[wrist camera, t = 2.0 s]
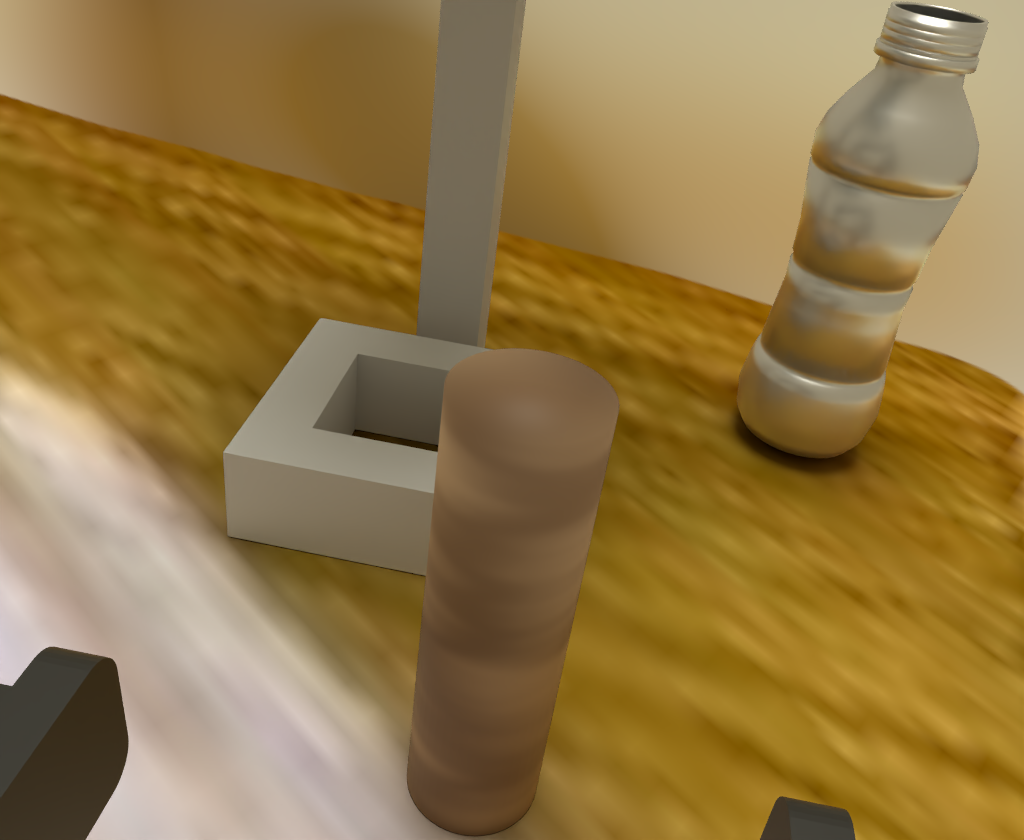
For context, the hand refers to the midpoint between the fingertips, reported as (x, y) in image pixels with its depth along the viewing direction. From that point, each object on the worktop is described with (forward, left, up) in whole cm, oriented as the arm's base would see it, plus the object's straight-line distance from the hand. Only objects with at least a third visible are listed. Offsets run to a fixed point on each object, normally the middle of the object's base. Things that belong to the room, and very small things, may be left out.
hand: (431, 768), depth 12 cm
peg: (-5, +10, -16) cm, 19 cm away
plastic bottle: (-4, +36, -16) cm, 40 cm away
